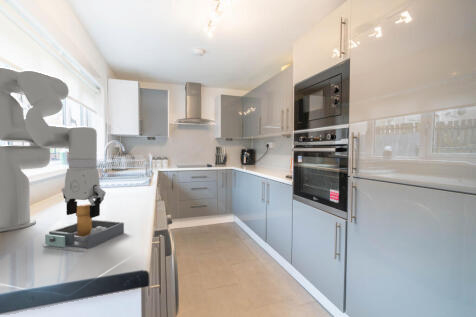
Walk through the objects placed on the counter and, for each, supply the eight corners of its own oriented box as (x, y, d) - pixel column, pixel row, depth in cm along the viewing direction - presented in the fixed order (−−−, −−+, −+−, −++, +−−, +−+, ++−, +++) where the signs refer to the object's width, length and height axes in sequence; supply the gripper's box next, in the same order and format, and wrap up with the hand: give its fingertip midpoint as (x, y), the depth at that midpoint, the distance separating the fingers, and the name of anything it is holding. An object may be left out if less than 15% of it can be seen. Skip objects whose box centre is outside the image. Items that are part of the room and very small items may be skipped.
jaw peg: (72, 237, 70) (72, 206, 70) (86, 232, 74) (85, 203, 74) (83, 238, 69) (83, 207, 68) (96, 233, 73) (95, 204, 73)
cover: (42, 245, 64) (42, 235, 63) (47, 243, 65) (47, 234, 65) (60, 248, 62) (59, 238, 62) (65, 246, 63) (64, 236, 63)
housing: (40, 246, 65) (40, 233, 64) (88, 228, 79) (87, 218, 79) (81, 252, 60) (81, 238, 60) (123, 232, 75) (123, 221, 75)
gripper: (51, 163, 70) (51, 216, 70) (93, 165, 65) (93, 221, 66) (74, 162, 77) (74, 210, 77) (113, 164, 72) (113, 214, 73)
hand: (83, 215), depth 72 cm, fingers open, 9 cm apart
